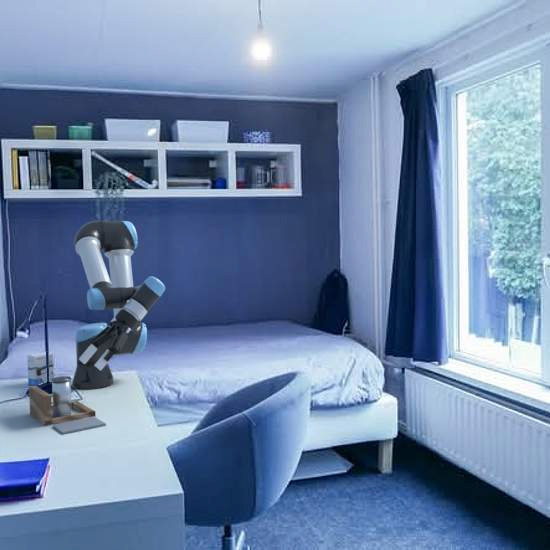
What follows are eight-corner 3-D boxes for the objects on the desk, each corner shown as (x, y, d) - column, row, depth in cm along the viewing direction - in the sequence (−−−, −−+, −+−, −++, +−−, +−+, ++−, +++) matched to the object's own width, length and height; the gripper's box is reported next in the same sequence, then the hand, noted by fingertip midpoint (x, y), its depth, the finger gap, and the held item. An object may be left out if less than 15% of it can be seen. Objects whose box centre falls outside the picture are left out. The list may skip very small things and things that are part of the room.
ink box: (35, 386, 235) (33, 356, 234) (27, 385, 238) (26, 354, 237) (54, 382, 242) (53, 352, 241) (47, 380, 245) (46, 351, 244)
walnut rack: (77, 405, 208) (76, 379, 207) (95, 416, 195) (94, 388, 195) (30, 414, 198) (28, 386, 198) (45, 425, 186) (44, 396, 185)
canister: (68, 411, 201) (67, 375, 200) (74, 415, 196) (73, 378, 196) (50, 414, 197) (48, 378, 197) (56, 419, 193) (54, 381, 192)
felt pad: (94, 418, 193) (94, 416, 193) (105, 425, 185) (105, 423, 185) (52, 426, 185) (52, 425, 185) (62, 434, 178) (62, 432, 178)
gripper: (108, 305, 218) (67, 352, 209) (139, 311, 198) (96, 363, 190) (122, 318, 221) (83, 365, 213) (154, 325, 202) (112, 378, 193)
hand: (89, 364), depth 201 cm, fingers open, 13 cm apart
